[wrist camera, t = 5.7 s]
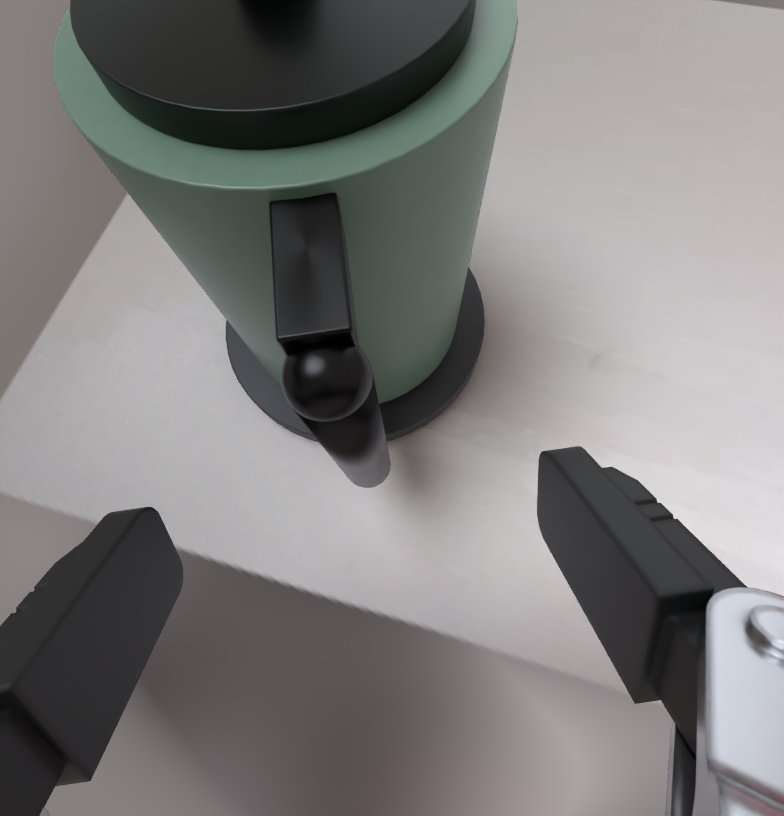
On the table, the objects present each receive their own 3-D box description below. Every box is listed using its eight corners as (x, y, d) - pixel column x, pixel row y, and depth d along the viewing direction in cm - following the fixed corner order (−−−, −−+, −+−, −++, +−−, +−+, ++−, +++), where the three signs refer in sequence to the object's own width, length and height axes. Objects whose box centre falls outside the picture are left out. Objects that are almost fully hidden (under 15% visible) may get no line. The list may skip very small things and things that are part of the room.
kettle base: (413, 493, 20) (413, 489, 19) (185, 377, 23) (173, 368, 22) (518, 276, 24) (524, 263, 23) (313, 198, 27) (309, 182, 26)
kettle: (496, 480, 19) (754, 263, 5) (256, 515, 19) (-208, 400, 5) (425, 165, 25) (446, -325, 11) (246, 190, 25) (40, -273, 11)
